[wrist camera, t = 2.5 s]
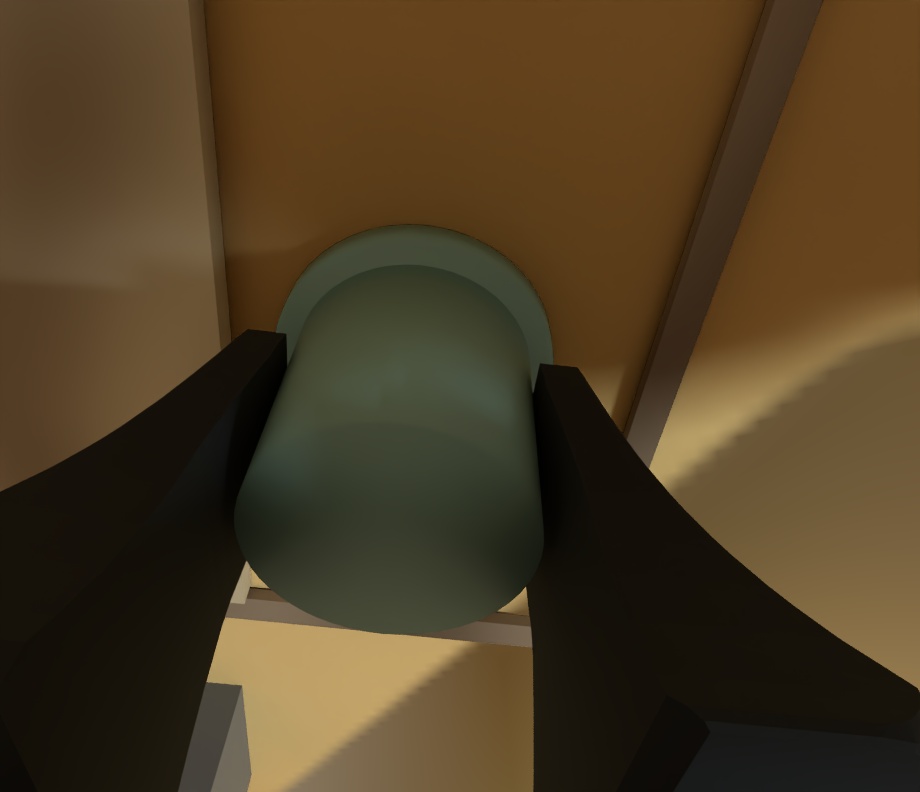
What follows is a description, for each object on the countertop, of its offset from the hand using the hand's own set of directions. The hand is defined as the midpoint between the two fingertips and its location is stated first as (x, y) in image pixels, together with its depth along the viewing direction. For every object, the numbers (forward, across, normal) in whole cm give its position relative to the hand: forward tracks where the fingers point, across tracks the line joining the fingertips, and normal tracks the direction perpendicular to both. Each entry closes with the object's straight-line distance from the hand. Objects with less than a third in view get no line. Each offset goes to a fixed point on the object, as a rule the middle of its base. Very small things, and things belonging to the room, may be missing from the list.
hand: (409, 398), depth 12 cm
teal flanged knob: (+1, 0, 0) cm, 1 cm away
